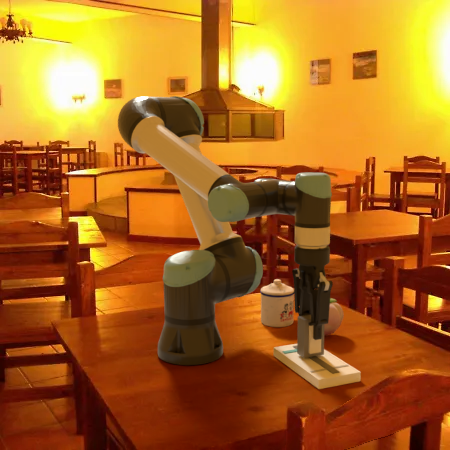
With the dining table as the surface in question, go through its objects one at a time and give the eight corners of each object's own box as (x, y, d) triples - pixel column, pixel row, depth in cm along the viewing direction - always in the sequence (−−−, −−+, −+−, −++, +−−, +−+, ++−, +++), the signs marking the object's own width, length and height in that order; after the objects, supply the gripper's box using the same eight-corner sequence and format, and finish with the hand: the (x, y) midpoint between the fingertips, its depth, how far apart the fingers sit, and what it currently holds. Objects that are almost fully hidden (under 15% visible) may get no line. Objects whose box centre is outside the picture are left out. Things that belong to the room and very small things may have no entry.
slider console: (318, 389, 129) (318, 378, 129) (273, 355, 148) (273, 346, 147) (360, 381, 133) (360, 371, 133) (311, 349, 151) (311, 340, 151)
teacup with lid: (285, 330, 165) (286, 286, 163) (254, 324, 170) (254, 281, 168) (303, 317, 175) (304, 275, 174) (273, 312, 180) (273, 272, 178)
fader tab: (303, 357, 139) (304, 320, 138) (297, 353, 142) (297, 316, 141) (323, 354, 141) (324, 317, 140) (316, 350, 144) (317, 313, 143)
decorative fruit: (314, 327, 167) (315, 290, 165) (345, 332, 163) (346, 294, 162) (303, 339, 158) (304, 300, 157) (335, 343, 155) (336, 303, 153)
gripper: (348, 250, 132) (345, 359, 136) (308, 237, 146) (307, 335, 150) (316, 254, 129) (314, 365, 133) (279, 239, 144) (278, 340, 147)
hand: (310, 349), depth 142 cm, fingers closed on fader tab, 3 cm apart
